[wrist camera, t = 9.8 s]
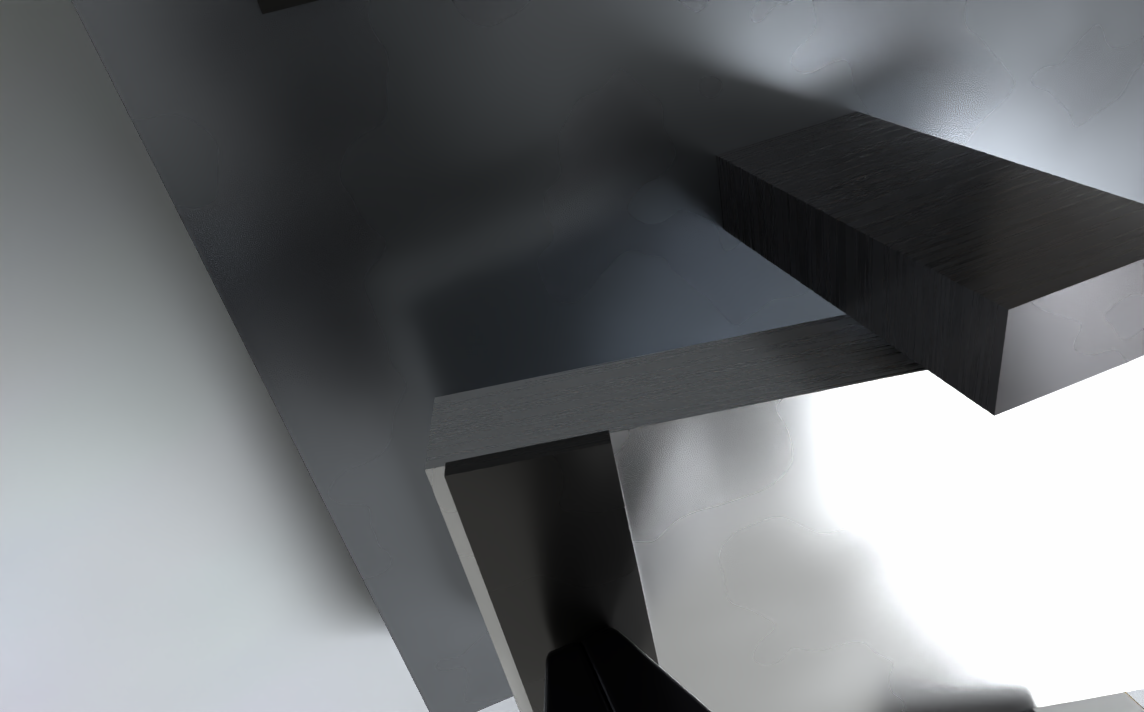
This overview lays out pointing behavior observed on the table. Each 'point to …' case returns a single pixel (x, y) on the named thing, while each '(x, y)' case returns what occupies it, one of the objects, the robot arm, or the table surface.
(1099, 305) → the panel
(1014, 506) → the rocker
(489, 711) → the table surface
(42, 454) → the table surface
